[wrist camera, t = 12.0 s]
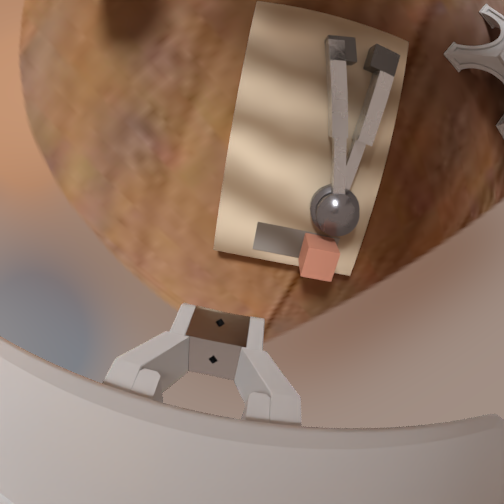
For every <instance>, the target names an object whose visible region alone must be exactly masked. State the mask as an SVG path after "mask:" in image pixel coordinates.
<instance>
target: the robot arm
mask: <svg viewBox="0 0 504 504" xmlns="http://www.w3.org/2000/svg"><path fill="white" fill-rule="evenodd" d="M264 323H265V320H264V318H257V317H249V316H244V315H238V314H233V313H227V312H222V311H218V310H213V309H209V308H205V307H200V306H195V305H191V304H187V303H183V304H182V305H181V306H180V309H179V311H178V313H177V316H176V318H175V320H174V323H173V325H172V327H171V329H170V332H168V331H165V332H163V333H161V334H159V335H157V336H156V337H154V338H152V339H150V340H148V341H147V342H145V343H143V344H141V345H139V346H137V347H135V348H134V349H132V350H130V351H128V352H126V353H124V354H123V355H121V356H119V357H117V358H116V359H115V360H114V362H113V364H112V366H111V368H110V369H109V372H108V373H107V375H106V377H105V379H104V381H103V383H99V382H96V381H94V380H91V379H88V378H86V377H83V376H81V375H78V374H76V373H74V372H71V371H69V370H67V369H64V368H62V367H60V366H57V365H55V364H53V363H51V362H49V361H46V360H44V359H42V358H40V357H38V356H36V355H34V354H32V353H30V352H28V351H26V350H24V349H22V348H20V347H19V346H17V345H15V344H13V343H11V342H9V341H8V340H6V339H4V338H2V337H1V336H0V504H504V419H502V418H501V417H500V416H498V415H496V414H488V415H483V416H479V417H474V418H468V419H463V420H457V421H451V422H445V423H436V424H428V425H418V426H406V427H393V428H363V429H362V428H353V429H350V428H318V427H302V426H301V399H300V396H299V395H298V393H297V392H296V391H295V389H294V388H293V387H292V385H291V384H290V383H289V381H288V380H287V379H286V377H285V376H284V375H283V373H282V372H281V371H280V369H279V368H278V366H277V365H276V364H275V362H274V361H273V360H272V358H271V357H270V355H269V354H268V353H267V352H266V351H263V337H264ZM188 371H191V372H196V373H201V374H206V375H212V376H216V377H221V378H225V379H230V380H234V382H235V384H236V386H237V389H238V390H239V393H240V395H241V397H242V399H243V401H244V403H245V405H246V406H245V409H244V412H243V415H242V418H241V419H234V418H229V417H223V416H218V415H213V414H208V413H203V412H198V411H194V410H189V409H185V408H181V407H177V406H173V405H169V404H165V403H163V397H162V393H163V392H164V391H166V390H167V389H168V388H169V387H171V386H172V385H173V384H174V383H175V382H177V381H178V380H179V379H180V378H181V377H183V376H184V375H185V374H186V373H188Z"/></svg>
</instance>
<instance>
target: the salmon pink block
mask: <svg viewBox="0 0 504 504" xmlns="http://www.w3.org/2000/svg"><path fill="white" fill-rule="evenodd" d="M339 257H340V251H339V249H338V247H337V244H336V242H335V240H334V238H329V237H325V236H320V235H315V234H310V233H305V236H304V240H303V243H302V247H301V251H300V255H299V258H298V261H299V268H300V276H301V277H307V278H312V279H318V280H323V281H329V282H331V280H332V278H333V275H334V272H335V269H336V266H337V263H338V260H339Z"/></svg>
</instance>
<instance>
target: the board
mask: <svg viewBox="0 0 504 504" xmlns="http://www.w3.org/2000/svg"><path fill="white" fill-rule="evenodd" d="M328 35H335V36H346V37H355V39H356V51H357V63H355V64H353V65H352V66H351V65H346V69H347V91H348V138H347V146H346V158H347V155H348V152H349V150H350V147H351V144H352V141H353V139H352V136H353V133H354V130H355V127H356V124H357V121H358V118H359V115H360V112H361V109H362V106H363V103H364V100H365V97H366V93H367V90H368V87H369V84H370V81H371V77H372V74H373V73H371V72H369V71H366V70H364V69H363V67H364V64H365V61H366V57H367V54H368V51H369V48H370V47H372V46H373V45H375V44H379V45H381V46H383V47H385V48H387V49H389V50H391V51H393V52H395V53H397V54H399V55H400V59H399V62H398V66H397V69H396V73H395V76H394V80H393V83H392V87H391V90H390V93H389V96H388V100H387V103H386V106H385V109H384V112H383V115H382V118H381V121H380V124H379V127H378V130H377V133H376V136H375V139H374V142H373V145H372V146H369V145H366V147H365V149H364V152H363V155H362V158H361V161H360V163H359V166H358V169H357V172H356V174H355V177H354V180H353V182H352V185H351V188H350V191H351V192H352V193H353V194H354V195H355V196H356V198H357V200H358V203H359V209H360V210H359V213H360V216H359V221H358V224H357V225H356V227H355V228H354V229H353V230H352V231H351V232H350V233H348V234H346V235H343V236H331V235H328V234H327V233H325V232H323V231H321V230H320V229H319V228H317V227H316V225H315V224H314V222H313V220H312V217H311V214H310V202H311V199H312V197H313V195H314V194H315V192H316V191H317V190H318V189H320V188H321V187H323V186H325V185H329V184H331V182H332V137H329V136H328V95H327V72H326V55H325V41H324V40H325V39H326V37H327V36H328ZM408 46H409V41H406V40H404V39H401V38H399V37H397V36H394V35H392V34H389V33H386V32H384V31H381V30H378V29H376V28H373V27H370V26H367V25H364V24H361V23H358V22H354V21H351V20H348V19H344V18H341V17H337V16H334V15H330V14H326V13H322V12H318V11H313V10H309V9H304V8H299V7H294V6H288V5H282V4H276V3H269V2H262V1H257V2H256V6H255V11H254V15H253V20H252V25H251V29H250V34H249V39H248V44H247V48H246V53H245V58H244V63H243V69H242V74H241V79H240V84H239V89H238V95H237V100H236V106H235V111H234V117H233V123H232V129H231V135H230V141H229V147H228V153H227V159H226V165H225V172H224V178H223V185H222V191H221V198H220V205H219V212H218V219H217V226H216V233H215V241H214V249H213V250H216V251H222V252H227V253H232V254H237V255H242V256H248V257H253V258H258V259H263V260H269V261H274V262H279V263H284V264H290V265H295V266H299V261H298V258H299V255H300V251H301V247H302V243H303V240H304V236H305V233H310V234H315V235H320V236H325V237H329V238H334V240H335V242H336V244H337V247H338V249H339V251H340V257H339V260H338V263H337V266H336V269H335V272H334V273H337V274H343V275H348V276H350V275H351V272H352V269H353V266H354V264H355V261H356V258H357V255H358V252H359V249H360V246H361V243H362V240H363V237H364V234H365V231H366V228H367V225H368V222H369V219H370V216H371V212H372V209H373V206H374V202H375V199H376V196H377V192H378V189H379V185H380V182H381V178H382V174H383V171H384V167H385V163H386V159H387V155H388V151H389V147H390V143H391V139H392V134H393V130H394V125H395V121H396V116H397V111H398V106H399V101H400V96H401V91H402V85H403V79H404V73H405V67H406V60H407V53H408Z"/></svg>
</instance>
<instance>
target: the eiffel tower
mask: <svg viewBox="0 0 504 504" xmlns="http://www.w3.org/2000/svg"><path fill="white" fill-rule="evenodd" d="M479 13H480V14H481V15H482V17H483V18H484V19H485V20H486V21H487V23H488V24H489V25H490V26H491V28H492V29H494V27H497V28H499V29H501V34H500V36H499V37H498V38H497V39H496V40H495V41H493V42H491V43H489V44H485V45H479V46H465V45H459V44H456V43H455V42H453V43H452V44H451V45H450V47H449V48H448V49H447V50H446V51H445V52H444V54H443V55H444V56H445V57H446V58H447V59H448V60H449V62H450V63H451V64H452V65H453V66H454V68H455V69H456V70H457V71H458V72H460V71H461V70H462V69H466V68H475V69H481V70H484V71H487V72H489V73H491V74H493V75H494V76H496V77H497V78H498V79H500V80H501V81H502V82H503V83H504V16H503V15H501V14H500V13H499V12H497V11H496V10H494V9H492V8H491V7H489V6H488V5H487V4H485V5H484V7H483V8H482V9H481V10H480V11H479ZM496 127H497V129H498V130H499V132H500V134H501V135H502V137H503V139H504V114H503V116H502V117H501V119H500V120H499V121H498V123H497V124H496Z"/></svg>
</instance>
